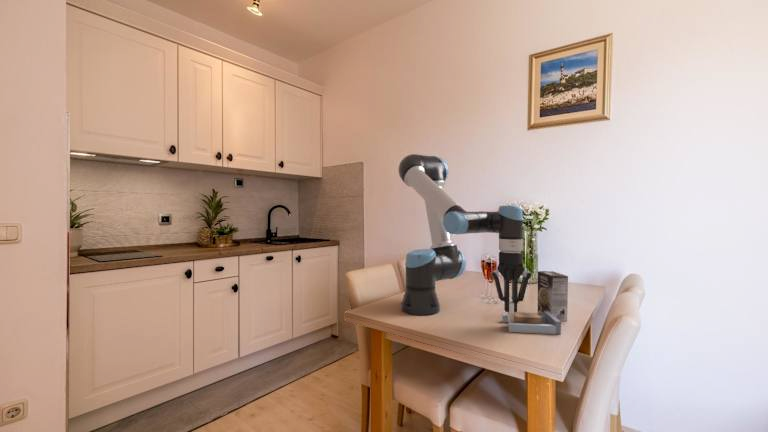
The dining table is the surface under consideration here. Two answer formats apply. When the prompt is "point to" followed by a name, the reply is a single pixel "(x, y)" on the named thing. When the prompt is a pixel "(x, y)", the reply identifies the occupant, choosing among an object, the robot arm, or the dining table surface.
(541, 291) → the coffee box
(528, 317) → the brown block
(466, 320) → the dining table surface
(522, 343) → the dining table surface
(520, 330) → the guide
